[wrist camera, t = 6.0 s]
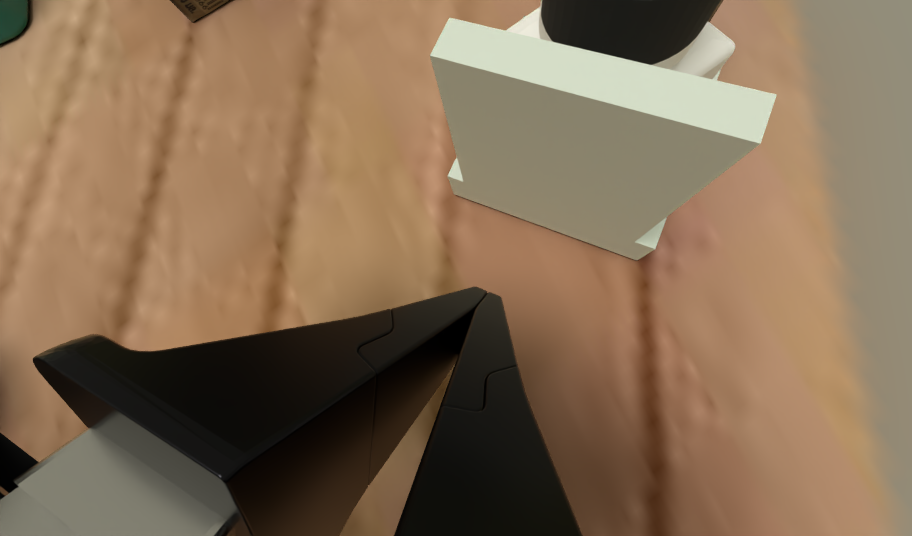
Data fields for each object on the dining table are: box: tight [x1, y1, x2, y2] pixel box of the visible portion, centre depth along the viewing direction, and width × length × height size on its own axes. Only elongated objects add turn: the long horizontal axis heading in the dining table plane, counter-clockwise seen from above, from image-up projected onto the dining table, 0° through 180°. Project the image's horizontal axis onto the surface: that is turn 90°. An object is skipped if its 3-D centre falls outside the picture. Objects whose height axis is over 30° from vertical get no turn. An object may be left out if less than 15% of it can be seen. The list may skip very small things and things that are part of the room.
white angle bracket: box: [430, 16, 776, 260], centre depth 16 cm, size 12×12×11 cm
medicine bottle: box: [506, 0, 735, 79], centre depth 15 cm, size 7×7×12 cm
